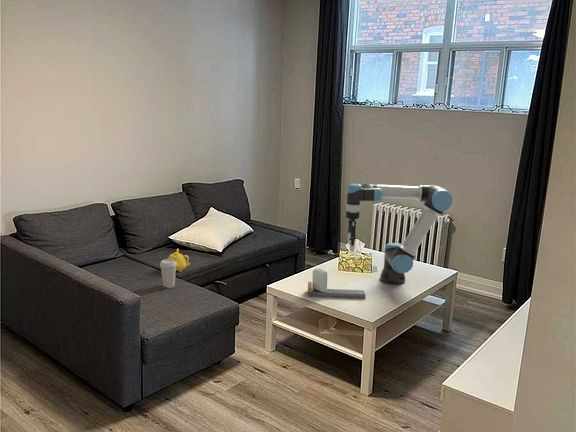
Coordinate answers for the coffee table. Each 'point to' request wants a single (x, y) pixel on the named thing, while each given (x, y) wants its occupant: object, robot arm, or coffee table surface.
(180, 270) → the teapot
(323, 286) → the photo printer
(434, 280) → the coffee table surface
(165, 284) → the coffee cup
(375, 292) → the coffee table surface
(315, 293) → the rail
